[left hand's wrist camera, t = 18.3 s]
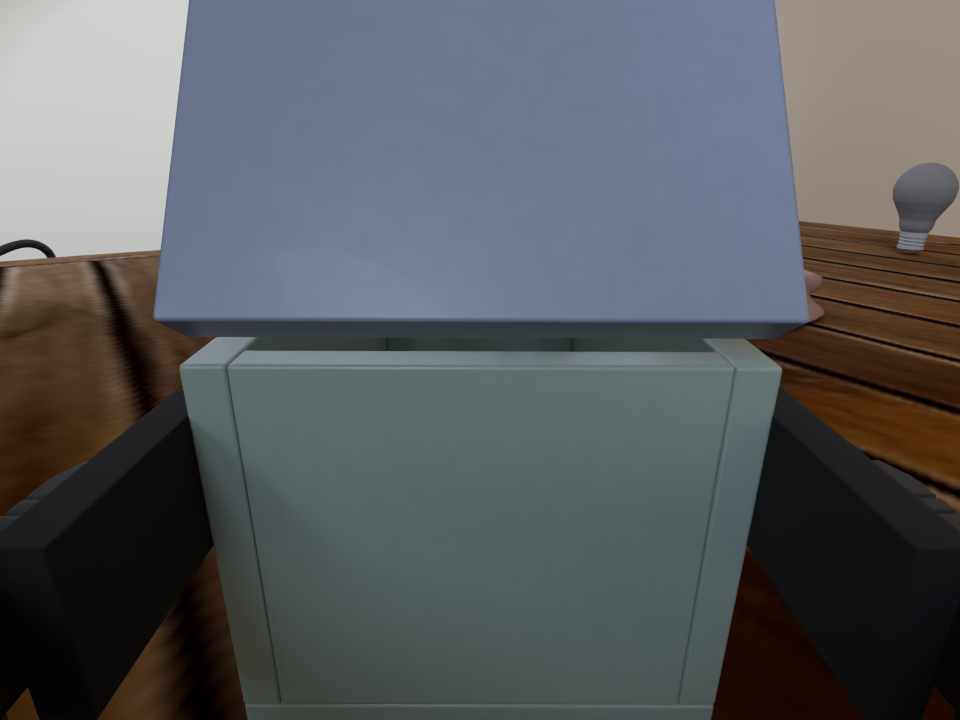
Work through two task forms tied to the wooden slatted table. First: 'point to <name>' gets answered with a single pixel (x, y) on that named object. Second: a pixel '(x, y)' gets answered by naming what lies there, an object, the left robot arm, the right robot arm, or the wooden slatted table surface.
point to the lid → (481, 171)
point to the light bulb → (922, 202)
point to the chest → (479, 521)
